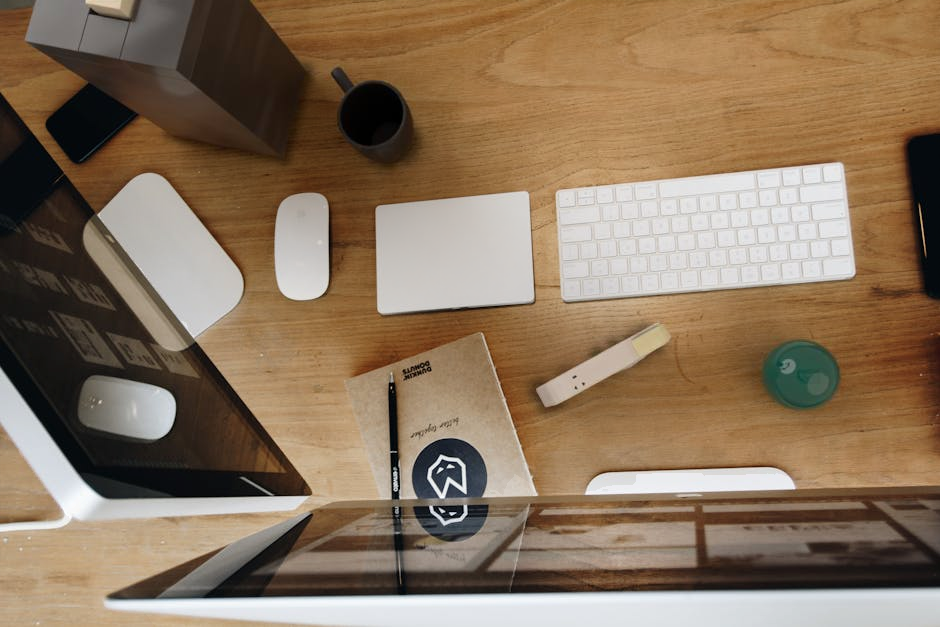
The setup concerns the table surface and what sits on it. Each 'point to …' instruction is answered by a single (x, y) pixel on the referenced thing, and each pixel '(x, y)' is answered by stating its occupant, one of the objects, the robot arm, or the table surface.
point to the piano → (182, 66)
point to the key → (113, 8)
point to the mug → (374, 119)
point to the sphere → (800, 375)
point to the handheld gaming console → (603, 365)
